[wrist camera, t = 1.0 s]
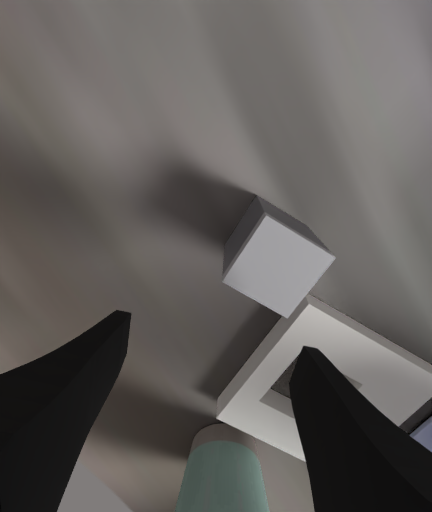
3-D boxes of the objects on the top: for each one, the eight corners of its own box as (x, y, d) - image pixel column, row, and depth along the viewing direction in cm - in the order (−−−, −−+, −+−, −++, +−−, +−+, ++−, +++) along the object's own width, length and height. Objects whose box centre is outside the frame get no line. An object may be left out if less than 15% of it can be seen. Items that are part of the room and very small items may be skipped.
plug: (307, 225, 20) (335, 257, 15) (273, 272, 22) (287, 318, 16) (256, 194, 20) (266, 215, 14) (224, 244, 21) (221, 282, 15)
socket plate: (430, 363, 23) (449, 385, 21) (332, 455, 27) (340, 480, 25) (302, 289, 22) (309, 305, 20) (217, 398, 26) (216, 420, 24)
